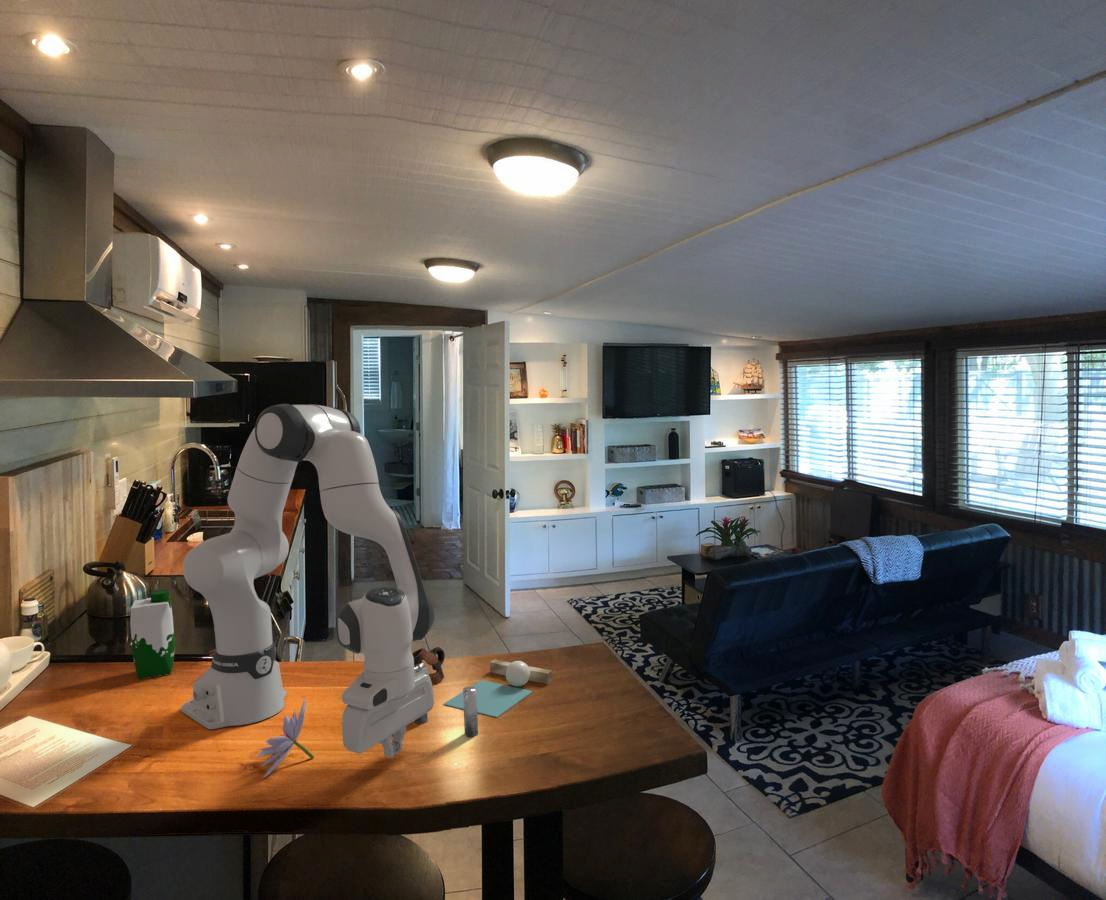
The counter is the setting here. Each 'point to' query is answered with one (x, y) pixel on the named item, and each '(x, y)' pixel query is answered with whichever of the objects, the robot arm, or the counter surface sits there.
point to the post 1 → (422, 719)
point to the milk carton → (152, 635)
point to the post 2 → (470, 711)
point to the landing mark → (492, 698)
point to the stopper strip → (535, 673)
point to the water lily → (285, 740)
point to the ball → (517, 673)
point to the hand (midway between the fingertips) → (393, 753)
